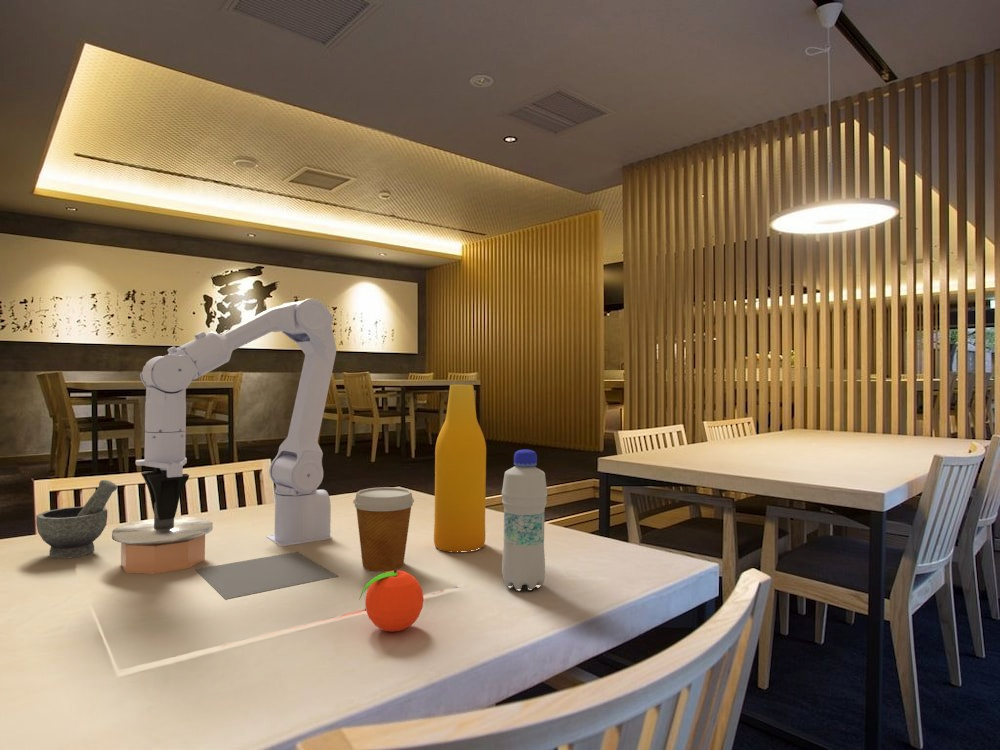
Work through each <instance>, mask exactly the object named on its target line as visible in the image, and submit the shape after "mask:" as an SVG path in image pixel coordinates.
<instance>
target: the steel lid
mask: <svg viewBox="0 0 1000 750" xmlns="http://www.w3.org/2000/svg"><path fill="white" fill-rule="evenodd" d="M213 526H214V525H213V521H212V520H210V519H207V518H202V517H194V516H192V517H190V516H175V517H174V519H166V520H159V518H158V514H157V509H156V502H155V503H154V512H153V518H150V519H144V520H138V521H134V522H129V523H126V524H123V525H119V526H118V527H116V528H114V529H113V530H112V531H111V539H112V540H113V541H114V542H117V543H120V544H121V543H126V544H159V543H169V542H177V541H183V540H188V539H192V538H196V537H200V536H202V535H205V536H206V535H207V534H209V533H211V532H212V531H213V528H214V527H213Z"/></svg>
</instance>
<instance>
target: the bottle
mask: <svg viewBox="0 0 1000 750" xmlns="http://www.w3.org/2000/svg"><path fill="white" fill-rule="evenodd" d="M513 465H514V466H513V467H511V468H509V469H506V471H504V475H503V483H502V489H501V497H502V500H501V504H503V548H502V549H503V551H502V559H501V560H502V561H501V573H502V579H503V582H504V585H505V587H507V586H512V585H513V588H514V589H515V590H516V589H521V588H523V585H527V586H526V587H527V589H528V588H529V589H533V588H535V586H536V585H542V586H543V585H544V581H545V573H546V558H545V508H546V505H547V503H548V501H547V497H548V488H547V480H546V479H547V478H546V473H545V472H544V471H543V470H541V469H540V468H538V467H536V466H537V465H538V455H537V453H536V451H534V450H532V449H519V450H517V451H515V452H514V454H513ZM535 589H536V588H535ZM521 590H522V589H521Z"/></svg>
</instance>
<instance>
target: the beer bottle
mask: <svg viewBox="0 0 1000 750" xmlns="http://www.w3.org/2000/svg"><path fill="white" fill-rule="evenodd" d="M476 411H477V410H476V400H475V389H474V385H473V384H450V385H449V392H448V400H447V409H446V415H445V420H444V423H443V424H442V426H441V429H440V430H439V432H438V433H439V434H438V436H437V439H436V443H435V451H434V455H435V457H434V458H435V459H434V462H435V463H434V474H435V475H434V524H433V525H434V526H433V527H434V528H433V543H434V547H436V548H435V549H437V548H438V550H439V549H440V551H442V550H444V551H443V552H446V551H452V552H451V553H453V552H457V551H458V552H461V551H471V550H476V549H478V548H481V547H482V548H484V546H485V544H486V490H487V489H486V484H487V483H486V481H487V480H486V479H487V443H486V440H485V439H486V438H485V437H484V433H483V431H482V427H481V426H480V424H479V422H478V418H477V412H476ZM482 548H481V549H482Z"/></svg>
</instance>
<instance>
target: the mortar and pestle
mask: <svg viewBox="0 0 1000 750" xmlns="http://www.w3.org/2000/svg"><path fill="white" fill-rule="evenodd" d="M117 489H118V485H117V484H116V483H115V482H112V481H110V480H107V479H103V480H102V479H101V480H100V481H99V482H98V487H97V488H96V490H95V491H94V493H93V494H92V495H91V496H90V498H89V499H88V500H87V502H85V505H84V506H70V507H63V508H57V509H56V508H55V509H51V510H46V511H44V512H41V513H38V514H36V515H35V516H36V520H35V521H36V528H37V533H38V534H39V536H40V538H41V540H43V542H44V543H46V544H47V545H49V546H50V549H49V554H48V555H50V556H51V557H52V558H51V557H50V556H49V557H50V558H51V559H58V558H65V559H69V558H68V557H74V558H79V556H80V557H84V556H87V555H86V554H88V555H90V554H92V553H93V551H94V552H95V544H94V541H96V539H98V538H99V537H100V536H101V535H102V533H103V531H104V530H105V528H106V526H107V521H108V509H107V508H105V506H106V505H107V503H108V501H109V500H110V497H111V496H112V494H113V493H114V492H115V491H117ZM91 552H92V553H91ZM89 553H90V554H89ZM83 555H84V556H83Z"/></svg>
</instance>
